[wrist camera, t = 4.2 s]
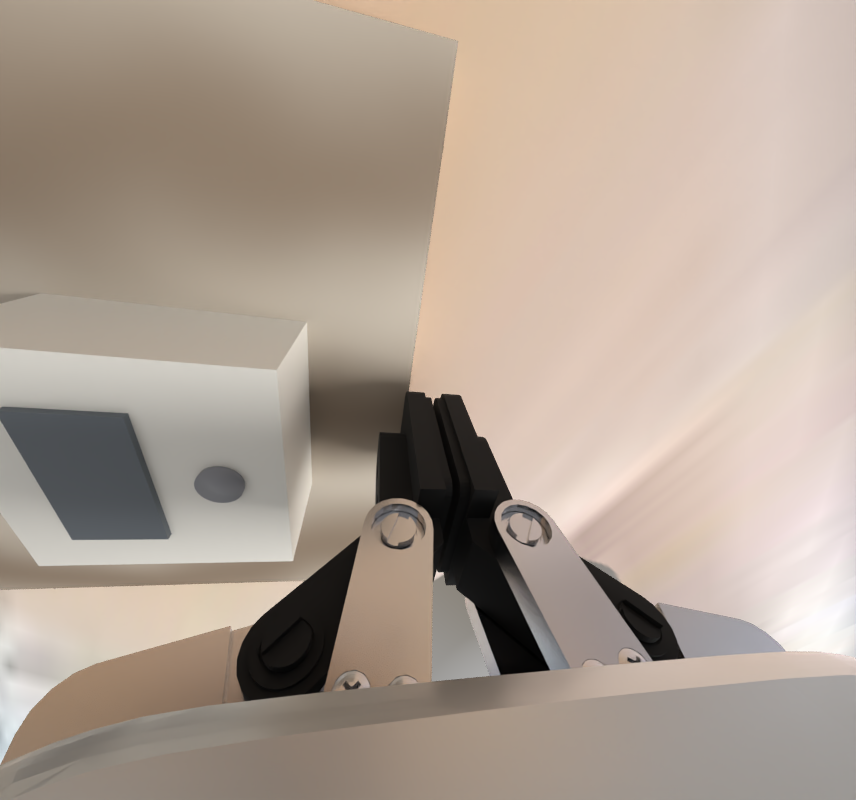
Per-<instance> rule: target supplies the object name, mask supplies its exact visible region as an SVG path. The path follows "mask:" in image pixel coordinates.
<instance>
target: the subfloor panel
mask: <svg viewBox="0 0 856 800" xmlns="http://www.w3.org/2000/svg"><path fill="white" fill-rule="evenodd" d="M457 46H458V41H456V40H453V39H449V38H446V37H442V36H438V35H435V34H431V33H428V32H424V31H421V30H417V29H414V28H410V27H406V26H403V25H399V24H396V23H392V22H389V21H385V20H381V19H378V18H374V17H371V16H367V15H364V14H360V13H357V12H353V11H349V10H346V9H342V8H339V7H335V6H332V5H328V4H325V3H321V2H317V1H314V0H0V304H2V303H5V302H9V301H13V300H17V299H21V298H24V297H28V296H32V295H36V294H40V293H45V294H54V295H64V296H73V297H82V298H91V299H100V300H110V301H119V302H128V303H137V304H147V305H156V306H165V307H174V308H183V309H193V310H202V311H211V312H220V313H230V314H239V315H248V316H257V317H266V318H276V319H285V320H294V321H303V322H307V337H308V369H309V401H310V433H311V465H312V486H311V490H310V494H309V498H308V502H307V506H306V510H305V514H304V518H303V523H302V527H301V531H300V535H299V539H298V543H297V547H296V551H295V555H294V559H293V561H278V562H226V563H174V564H122V565H69V566H38V564H37V563H36V562H35V560H34V559H33V557H32V556H31V555H30V553H29V552H28V550H27V549H26V548H25V546H24V545H23V544H22V542H21V541H20V539H19V538H18V537H17V535H16V534H15V533H14V531H13V530H12V528H11V527H10V526H9V524H8V523H7V521H6V520H5V519H4V517H3V516H2V515H1V513H0V590H9V589H42V588H76V587H110V586H143V585H177V584H211V583H244V582H278V581H305V580H307V579H308V578H309V577H310V576H312V575H313V574H314V573H315V572H316V571H318V570H319V569H320V568H321V567H323V566H324V565H325V564H326V563H327V562H329V561H330V560H331V559H332V558H334V557H335V556H336V555H337V554H338V553H340V552H341V551H342V550H343V549H345V548H346V547H347V546H348V545H350V544H351V543H352V542H353V541H354V540H356V539H357V538H358V537H359V536H361V532H362V528H363V524H364V520H365V518H366V516H367V513H368V512H369V511H370V510H371V509H372V508H373V506H374V505H375V494H376V464H377V451H378V440H379V433H380V432H387V433H400V432H401V424H402V416H403V409H404V401H405V394H406V391H407V392H408V391H409V384H410V377H411V370H412V363H413V356H414V349H415V342H416V335H417V328H418V321H419V314H420V307H421V300H422V292H423V285H424V278H425V271H426V264H427V257H428V250H429V243H430V236H431V229H432V222H433V215H434V208H435V201H436V194H437V187H438V180H439V173H440V166H441V159H442V152H443V145H444V138H445V131H446V123H447V116H448V109H449V102H450V95H451V88H452V81H453V74H454V67H455V60H456V53H457Z"/></svg>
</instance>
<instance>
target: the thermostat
mask: <svg viewBox="0 0 856 800" xmlns="http://www.w3.org/2000/svg"><path fill="white" fill-rule="evenodd" d="M311 486H312V465H311V433H310V401H309V369H308V337H307V322H303V321H294V320H285V319H276V318H266V317H257V316H248V315H239V314H230V313H220V312H211V311H202V310H193V309H183V308H174V307H165V306H156V305H147V304H137V303H128V302H119V301H110V300H100V299H91V298H82V297H73V296H64V295H54V294H45V293H40V294H36V295H32V296H28V297H24V298H21V299H17V300H13V301H9V302H5V303H2V304H0V513H1V515H2V516H3V517H4V519H5V520H6V521H7V523H8V524H9V526H10V527H11V528H12V530H13V531H14V533H15V534H16V535H17V537H18V538H19V539H20V541H21V542H22V544H23V545H24V546H25V548H26V549H27V550H28V552H29V553H30V555H31V556H32V557H33V559H34V560H35V562H36V563H37V564H38V566H69V565H122V564H174V563H226V562H278V561H293V559H294V555H295V551H296V547H297V543H298V539H299V535H300V531H301V527H302V523H303V518H304V514H305V510H306V506H307V502H308V498H309V494H310V490H311Z"/></svg>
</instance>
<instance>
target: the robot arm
mask: <svg viewBox="0 0 856 800" xmlns="http://www.w3.org/2000/svg"><path fill="white" fill-rule="evenodd" d="M436 570H437V571H438V572H444V577H445V583H446V585H456V588H457V590H458V591H459V592H460V593H462V594H463V595H464V596H465V604H466V608H467V612H468V615H469V618H470V620H471V623H472V626H473V629H474V632H475V634H476V637H477V640H478V643H479V646H480V649H481V652H482V655H483V658H484V660H485V663H486V666H487V669H488V672H489V675H490V676H486V677H476V678H465V679H456V680H445V681H435V682H431V674H432V600H433V599H432V598H433V597H432V596H433V581H434V577H435V574H436ZM0 800H856V658H855V657H850V656H846V655H840V654H832V653H823V652H786V651H785V650H784V649H783V648H782V646H781V645H780V644H779V643H778V642H776V641H775V640H774V639H773V638H772V637H771V636H769V635H768V634H767V633H766V632H764V631H763V630H761V629H759V628H758V627H756V626H755V625H753V624H751V623H748V622H746V621H743V620H740V619H736V618H731V617H726V616H721V615H716V614H711V613H706V612H702V611H697V610H692V609H687V608H682V607H677V606H672V605H667V604H662V603H657V604H656V606H654V605H653V604H651V603H650V602H649V601H647V600H646V599H645V598H643V597H642V596H641V595H639V594H638V593H636V592H634V591H633V590H631V589H630V588H628V587H627V586H625V585H623V584H622V583H620V582H619V581H617V580H616V579H614V578H612V577H611V576H609V575H608V574H606V573H604V572H603V571H601V570H600V569H598V568H597V567H595V566H594V565H592V564H590V563H589V562H587V561H586V560H584V559H583V558H581V557H579V556H578V554H577V553H576V552H575V550H574V549H573V547H572V546H571V545H570V543H569V542H568V540H567V539H566V537H565V536H564V535H563V533H562V532H561V530H560V529H559V528H558V526H557V525H556V523H555V522H554V521H553V519H552V518H551V517H550V516H549V515H548V514H547V513H546V512H545V511H544V510H542V509H541V508H540V507H538V506H536V505H534V504H532V503H530V502H527V501H523V500H513V499H512V496H511V494H510V492H509V490H508V487H507V485H506V483H505V481H504V478H503V476H502V474H501V472H500V469H499V467H498V465H497V463H496V460H495V458H494V456H493V454H492V451H491V449H490V447H489V445H488V442H487V440H486V439H485V438H484V437H477V434H476V432H475V429H474V427H473V425H472V422H471V420H470V417H469V415H468V412H467V410H466V408H465V405H464V403H463V400H462V398H461V396H460V395H450V394H442V395H441V398H435V400H434V405H433V404H432V400H431V398H427V397H425V393H421V392H407V391H406V394H405V401H404V409H403V416H402V424H401V432H400V433H387V432H380V433H379V440H378V451H377V464H376V494H375V505H374V506H373V508H372V509H371V510H370V511H369V512H368V513H367V516H366V518H365V520H364V524H363V528H362V532H361V536H359V537H358V538H357V539H356V540H354V541H353V542H352V543H351V544H350V545H348V546H347V547H346V548H345V549H343V550H342V551H341V552H340V553H338V554H337V555H336V556H335V557H334V558H332V559H331V560H330V561H329V562H327V563H326V564H325V565H324V566H323V567H321V568H320V569H319V570H318V571H316V572H315V573H314V574H313V575H312V576H310V577H309V578H308V579H307V580H305V581H304V582H303V583H302V584H301V585H299V586H298V587H297V588H296V589H294V590H293V591H292V592H291V593H289V594H288V595H287V596H286V597H285V598H283V599H282V600H281V601H280V602H278V603H277V604H276V605H275V606H274V607H272V608H271V609H270V610H269V611H267V612H266V613H265V614H264V615H263V616H262V617H261V618H260V619H259V620H258V621H257V622H256V623H255V624H254V625H251V626H248V627H244V628H241V629H237V630H234V631H232V629H231V626H229V627H225V628H222V629H218V630H215V631H211V632H208V633H204V634H200V635H197V636H193V637H190V638H186V639H183V640H179V641H175V642H172V643H168V644H165V645H161V646H158V647H154V648H151V649H147V650H143V651H140V652H136V653H133V654H129V655H126V656H122V657H118V658H115V659H111V660H108V661H104V662H101V663H97V664H95V665H92V666H90V667H88V668H85V669H83V670H81V671H78V672H76V673H74V674H73V675H71V676H70V677H68V678H67V679H65V680H64V681H63V682H61V683H60V684H58V685H57V686H55V687H54V688H52V689H51V690H50V691H49V692H48V693H47V694H46V695H45V696H44V697H43V698H42V699H41V700H40V701H39V702H38V703H37V704H36V705H35V706H34V707H33V708H32V710H31V711H30V712H29V714H28V715H27V717H26V718H25V720H24V721H23V723H22V725H21V726H20V728H19V729H18V731H17V732H16V734H15V736H14V738H13V740H12V742H11V744H10V746H9V748H8V750H7V752H6V754H5V756H4V759H3V761H2V763H1V765H0Z"/></svg>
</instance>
